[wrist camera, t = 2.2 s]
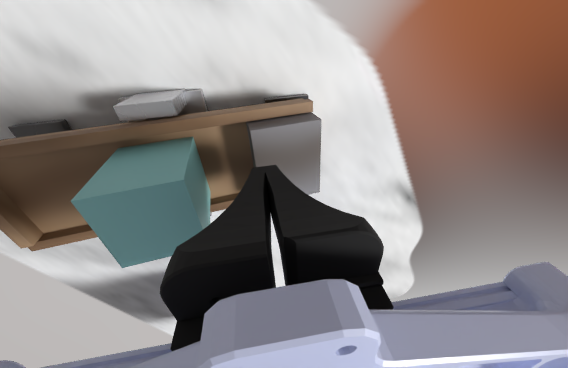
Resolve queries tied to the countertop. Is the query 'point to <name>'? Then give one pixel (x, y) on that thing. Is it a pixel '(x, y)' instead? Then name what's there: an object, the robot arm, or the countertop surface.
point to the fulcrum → (141, 109)
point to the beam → (107, 139)
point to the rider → (147, 200)
